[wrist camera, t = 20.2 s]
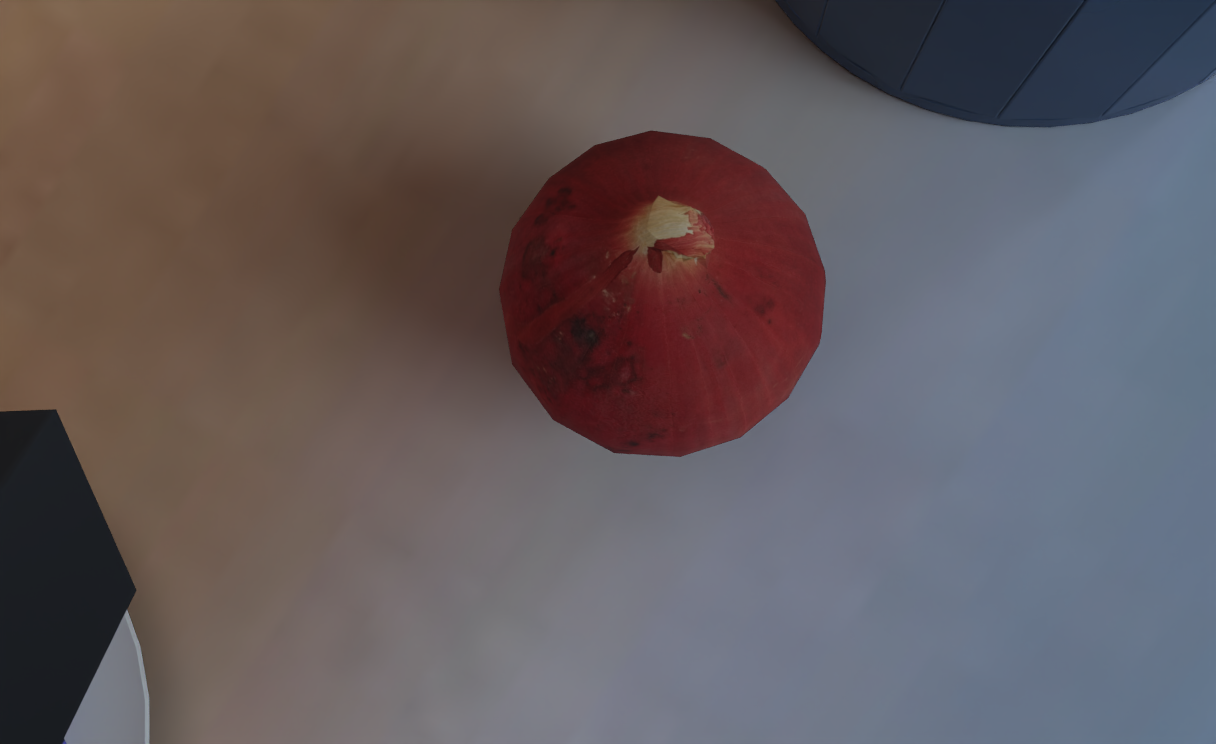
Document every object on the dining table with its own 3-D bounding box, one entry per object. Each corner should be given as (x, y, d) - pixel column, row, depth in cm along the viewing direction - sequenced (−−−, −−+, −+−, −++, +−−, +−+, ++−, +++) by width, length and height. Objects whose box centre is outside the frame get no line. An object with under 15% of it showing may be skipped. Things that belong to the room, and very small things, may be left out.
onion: (636, 527, 23) (621, 512, 15) (474, 315, 24) (381, 198, 16) (853, 358, 23) (947, 259, 16) (685, 156, 24) (694, -35, 16)
